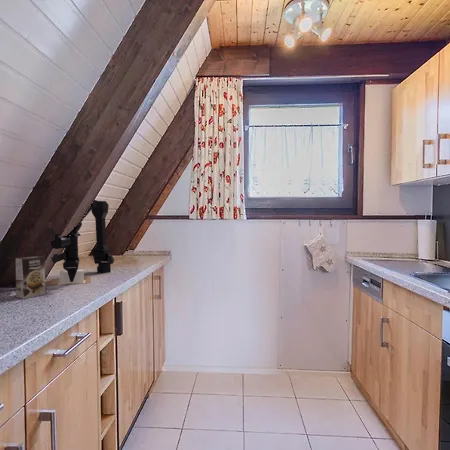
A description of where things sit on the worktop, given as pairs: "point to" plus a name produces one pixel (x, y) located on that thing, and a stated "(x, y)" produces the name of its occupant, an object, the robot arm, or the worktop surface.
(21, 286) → the cookie box
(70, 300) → the worktop surface
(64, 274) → the block
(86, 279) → the board
